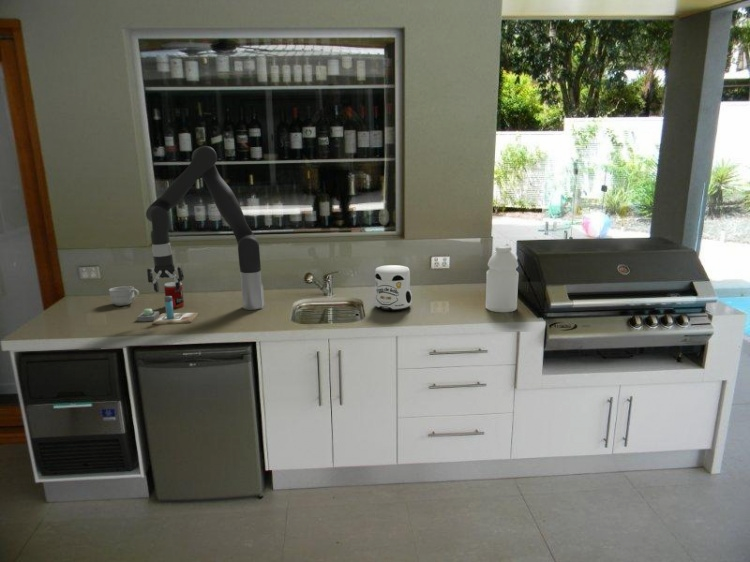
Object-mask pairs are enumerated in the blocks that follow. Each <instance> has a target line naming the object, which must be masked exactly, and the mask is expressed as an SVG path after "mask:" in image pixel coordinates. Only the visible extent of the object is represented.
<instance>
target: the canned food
mask: <svg viewBox="0 0 750 562" xmlns="http://www.w3.org/2000/svg"><path fill="white" fill-rule="evenodd" d="M175 283H176V282H175V281H170V282H166V283H164V285H163V288H164V294H165V296H172V303H173V310H174V309H181V308H183V307H184V306H185V300H184V291H183V290H184V289H183V283H182V281H180V289H179V291H176V285H175ZM165 296H164V297H165Z"/></svg>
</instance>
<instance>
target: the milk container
mask: <svg viewBox="0 0 750 562" xmlns="http://www.w3.org/2000/svg"><path fill="white" fill-rule="evenodd" d="M410 272H411V271H410V268H409V267H408V266H406V265H398V264H397V265H395V264H394V265H393V264H388V265H380V266H377V267H376V268H375V270H374V276H375V278H374V280H375V281H374V283H375V284H374V286H375V287H374V292H373V302H374V305H375V307H376V308H378V309H380V310H384V311H393V312H394V311H402V310H405V309H407V308H409V307H410V306H411V304H412V300H413V295H412V291H411V273H410Z"/></svg>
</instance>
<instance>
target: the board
mask: <svg viewBox="0 0 750 562" xmlns="http://www.w3.org/2000/svg"><path fill="white" fill-rule="evenodd" d="M173 313H174V318H172V319H167V317H166V312H165V313H164V312H163V313H161V314H159V315H160V316H159V317H158V318H157V319H156V320H155V321H152V324H153V325H167V324H170V325H171V324H192V323H193V321H195V319H197V317H198V315H199V312H173Z"/></svg>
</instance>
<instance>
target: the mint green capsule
mask: <svg viewBox="0 0 750 562" xmlns="http://www.w3.org/2000/svg"><path fill="white" fill-rule="evenodd" d="M142 312H144V316H152V315H153V312H154V311H153V309H152V308H145V309H143V310H142Z"/></svg>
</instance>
